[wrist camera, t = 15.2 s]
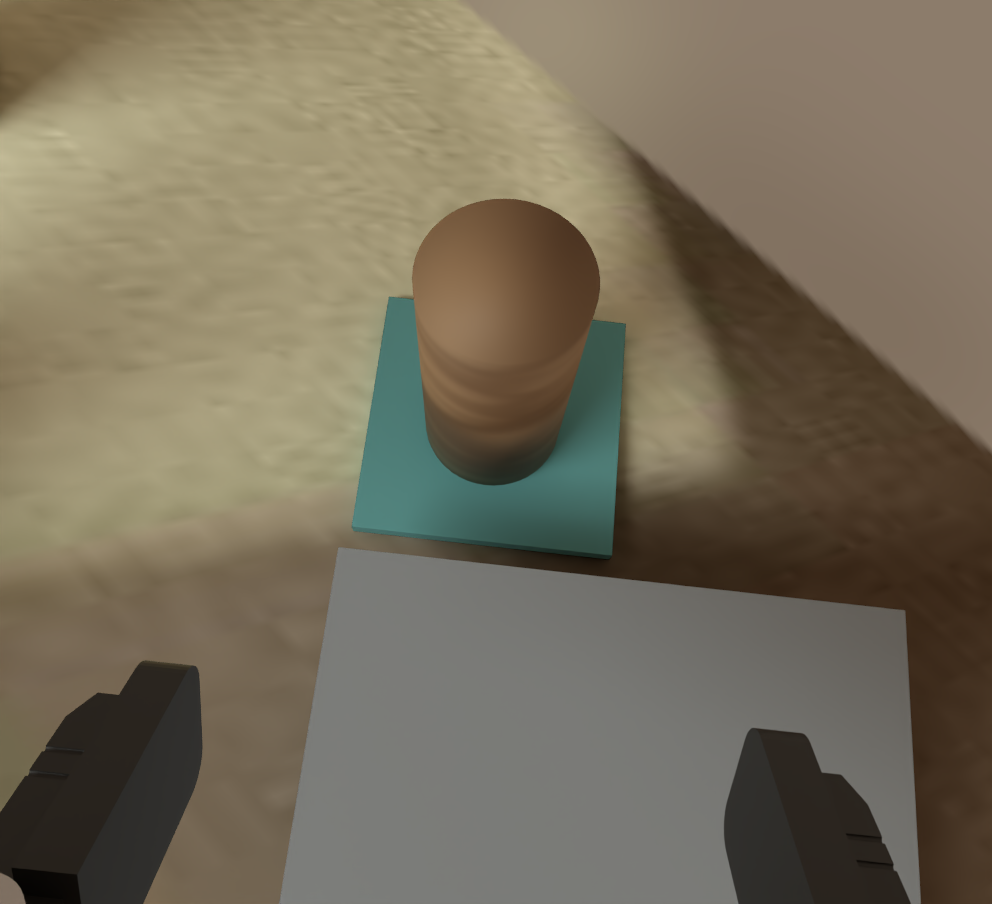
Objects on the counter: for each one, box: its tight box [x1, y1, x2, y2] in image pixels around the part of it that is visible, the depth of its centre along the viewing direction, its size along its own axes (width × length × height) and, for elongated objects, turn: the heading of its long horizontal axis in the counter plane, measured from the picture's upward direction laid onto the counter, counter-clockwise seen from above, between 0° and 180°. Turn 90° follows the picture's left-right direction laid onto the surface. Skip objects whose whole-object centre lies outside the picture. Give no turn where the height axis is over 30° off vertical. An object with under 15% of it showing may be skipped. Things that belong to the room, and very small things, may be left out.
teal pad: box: [352, 297, 626, 559], centre depth 33 cm, size 9×9×1 cm
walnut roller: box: [412, 199, 600, 486], centre depth 28 cm, size 5×5×10 cm
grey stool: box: [279, 547, 921, 904], centre depth 26 cm, size 16×13×6 cm
